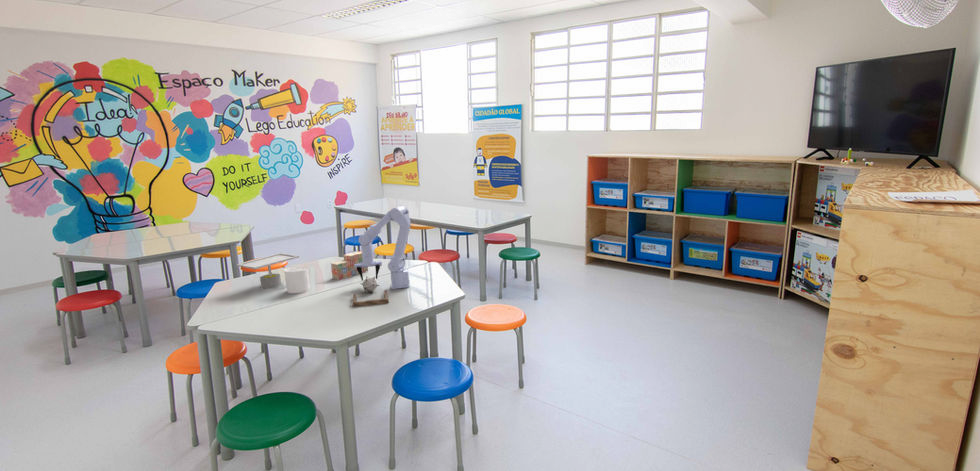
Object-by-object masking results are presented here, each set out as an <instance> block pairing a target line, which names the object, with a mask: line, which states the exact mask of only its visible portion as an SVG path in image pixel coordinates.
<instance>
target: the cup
mask: <svg viewBox="0 0 980 471" xmlns="http://www.w3.org/2000/svg"><path fill="white" fill-rule="evenodd" d="M283 272H284V278H285V279H284V280H285V288H286V292H287V293H288V294H294V295H295V294H302V293H305V292H308V291H309V290H310V289H311V287H310V277H309V270H308V267H307V266H305V265H300V266H299V265H298V266H292V267H286V268H285V269H284V271H283Z"/></svg>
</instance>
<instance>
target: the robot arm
mask: <svg viewBox="0 0 980 471" xmlns="http://www.w3.org/2000/svg"><path fill="white" fill-rule="evenodd" d="M409 214H410V211H409V210H408V208H407V207H406V206H404V205H399V206H397V207H396V206H395V207H392V208H391V209H390V210H389V211H387V213H386V214H384V216H383V217H382V218H381V219H380V220H379V221H378V222H377V223H376V224H370V225H369V228H368V229H367V230H365V231H364V232H363V234H360V235H359V237H358V242H359V245H360V248H361V250H360V251H362V261H363V263H359V264H354V266H355V268H357V271H358V272H359V274H358V275H359V276H360V279H361V281H363V282H364V278H363V277H364V276H363V273H362V267H368V268H369V267H375V280H377V279H378V277H379V276H378V275H379V270H380V268H381V267H382V266H383V264H382V263H383V262H382V261H374V255H373V254H374V253H373V242H374V240H375V239H376V237H378V235H380V233H382V228H384V227H385V226H386V224H388V223H389V222H390V221H392V220H393V221H394V222H396V223H397V225H398V226H399V230H398V234H397V238H396V243H395V248H394V252H393V254H392V256H391V259H390V261H389V262H388V263H387V268H388V270H389V272H390V281H391V283H390V288H391V289H392V290H395V289H397V290H398V289H404V288H405V289H406V288H409V287H410V280H409V270H408V269H404V267H405V266H406V260H405V259H406V255H405V253H406V252H405V251H406V246H407V242H408V238H409V234H410V229H411V226H412V222H411V218H410V215H409Z"/></svg>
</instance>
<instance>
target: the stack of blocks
mask: <svg viewBox="0 0 980 471" xmlns="http://www.w3.org/2000/svg"><path fill="white" fill-rule="evenodd" d="M359 263H363V261H362V250H359V251H354V252H350V253H346V254H343V260H338V261H333V262H330V265H331V276H332V279H334V280H342V279H346V278H349V277H352V276H357V275H360V274H359V272H358V271H357V268H355V266H354V264H359ZM366 271H367V272H369V267H362V274H363V272H364V273H366Z"/></svg>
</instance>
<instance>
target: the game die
mask: <svg viewBox="0 0 980 471" xmlns="http://www.w3.org/2000/svg"><path fill="white" fill-rule="evenodd" d="M361 286H362V287H363V289H364V293H366V292H372V294H373V293H374V291H375V289H377V287H380V284H378V283H377V280H376V276H373V277H368V276H366V278H365V279H364V280H363V282H362V283H361Z"/></svg>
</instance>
